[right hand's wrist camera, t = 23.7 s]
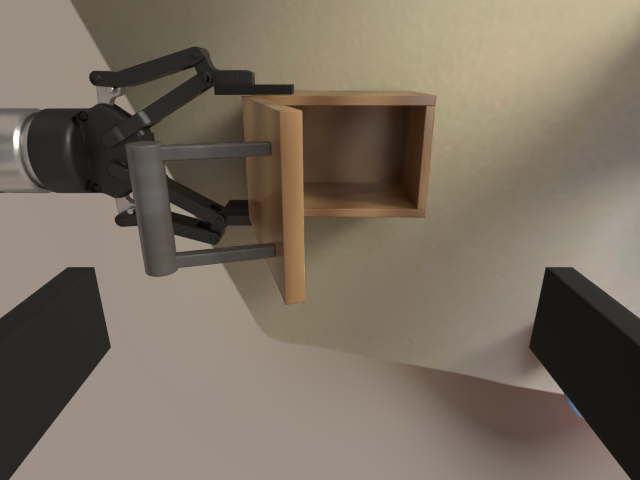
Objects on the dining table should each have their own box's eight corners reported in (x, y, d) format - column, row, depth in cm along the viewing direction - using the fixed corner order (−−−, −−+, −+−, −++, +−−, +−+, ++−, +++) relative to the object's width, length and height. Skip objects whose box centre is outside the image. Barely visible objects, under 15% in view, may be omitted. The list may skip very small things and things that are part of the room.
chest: (411, 91, 43) (436, 95, 33) (405, 187, 47) (425, 217, 37) (268, 90, 44) (249, 95, 34) (272, 186, 47) (256, 216, 37)
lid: (302, 110, 20) (109, 114, 18) (305, 302, 23) (145, 324, 21) (255, 95, 33) (143, 97, 31) (261, 218, 37) (162, 226, 35)
